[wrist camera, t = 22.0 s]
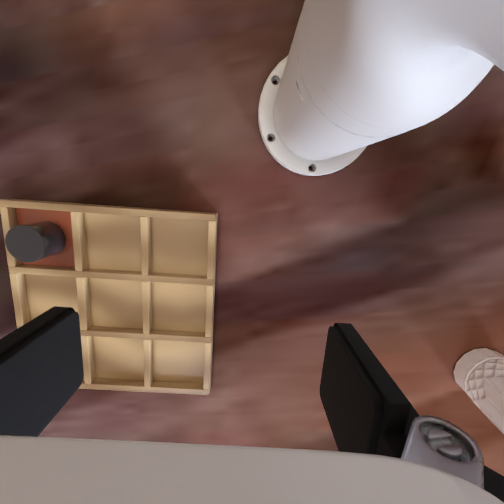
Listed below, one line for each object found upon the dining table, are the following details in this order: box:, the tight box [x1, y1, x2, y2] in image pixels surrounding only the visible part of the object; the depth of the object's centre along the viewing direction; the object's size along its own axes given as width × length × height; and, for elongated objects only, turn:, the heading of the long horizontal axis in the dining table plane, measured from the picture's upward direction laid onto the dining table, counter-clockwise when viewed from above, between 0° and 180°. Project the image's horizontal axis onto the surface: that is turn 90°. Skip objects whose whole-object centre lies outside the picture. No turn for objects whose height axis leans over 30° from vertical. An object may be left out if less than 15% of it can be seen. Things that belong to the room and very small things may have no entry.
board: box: [0, 199, 218, 395], centre depth 34 cm, size 24×24×2 cm
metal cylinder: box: [5, 221, 66, 263], centre depth 30 cm, size 4×4×4 cm
